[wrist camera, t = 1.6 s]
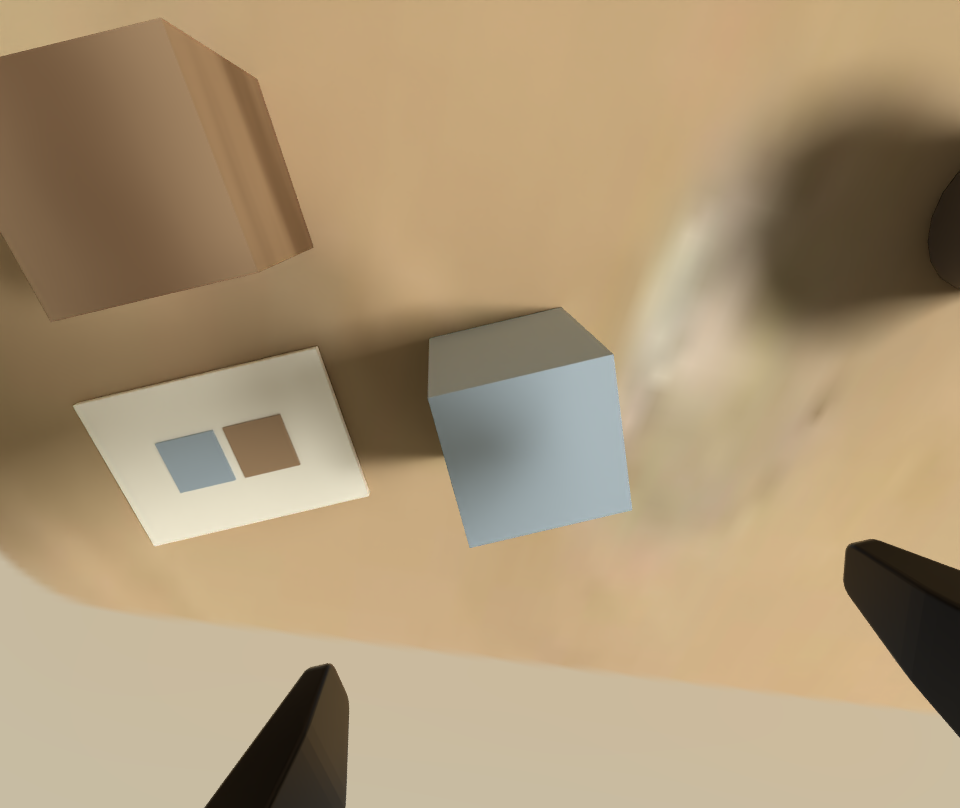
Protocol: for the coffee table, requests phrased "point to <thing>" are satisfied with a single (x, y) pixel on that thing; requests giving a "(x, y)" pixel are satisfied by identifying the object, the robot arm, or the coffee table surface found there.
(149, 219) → the walnut brick
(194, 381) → the page
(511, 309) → the coffee table surface
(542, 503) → the slate brick
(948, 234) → the coffee cup
